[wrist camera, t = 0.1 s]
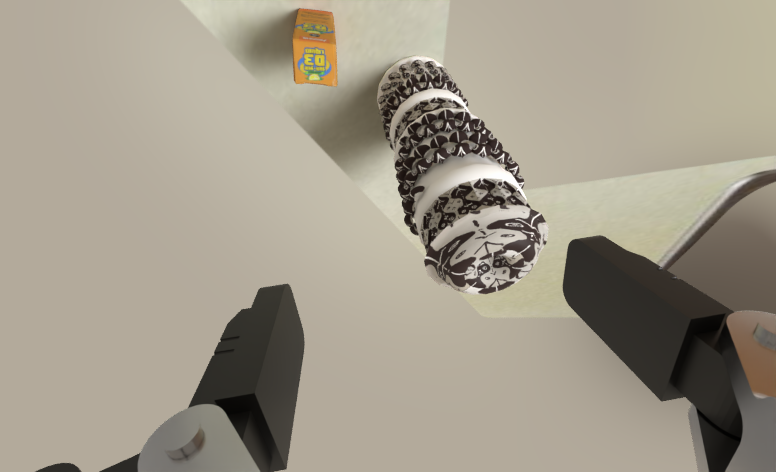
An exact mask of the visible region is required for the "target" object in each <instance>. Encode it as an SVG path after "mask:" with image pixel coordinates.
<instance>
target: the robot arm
mask: <svg viewBox="0 0 776 472" xmlns="http://www.w3.org/2000/svg"><path fill="white" fill-rule="evenodd" d="M563 293H564V296H565V299H566V301H567V303H568V304H569V306H570V307H571V308H572V309H573V310H574V311H575V312H576V313H577V314H578V315H579V316H580V317H581V318H582V319H583V320H584V321H585V323H586V324H587V325H588V326H589V327H590V328H591V329H592V330H593V331H594V332H595V333H596V334H597V335H598V336H599V337H600V338H601V339H602V340H603V341H604V342H605V343H606V344H607V345H608V346H609V347H610V348H611V350H612V351H613V352H614V353H615V354H616V355H617V356H618V357H619V358H620V359H621V360H622V361H623V362H624V363H625V364H626V365H627V366H628V367H629V368H630V369H631V370H632V371H633V372H634V373H635V374H636V375H637V377H638V378H639V379H640V380H641V381H642V382H643V383H644V384H645V385H646V386H647V387H648V388H649V389H650V390H651V391H652V392H653V393H654V394H655V395H656V396H657V397H658V398H659V399H660V400H661V401H666V400H672V399H677V398H683V397H686V398H687V399H688V400H689V401H690V402H691V406H690V408H689V411H688V417H689V423H690V429H691V434H692V439H693V445H694V450H695V456H696V461H697V467H698V472H776V315H774V314H770V313H766V312H759V311H738V312H733V311H732V310H730V309H729V308H727V307H725V306H724V305H722V304H720V303H719V302H717V301H716V300H714V299H712V298H711V297H709V296H707V295H706V294H704V293H703V292H701V291H699V290H698V289H696V288H694V287H693V286H691V285H689V284H688V283H686V282H685V281H683V280H681V279H677V277H676V276H675V275H673V274H672V273H670V272H668V271H667V270H662V267H660V266H659V265H657V264H655V263H654V262H652V261H650V260H649V259H647V258H646V257H643V256H640V255H638V254H635V253H632V252H629V251H627V250H625V249H623V248H622V247H620V246H619V245H617V244H615V243H614V242H612V241H611V240H609V239H607V238H606V237H604V236H593V237H586V238H580V239H574V240H572V241H571V242H570V243H569V246H568V251H567V258H566V265H565V273H564V280H563ZM220 340H221V342H219V343H218V345H217V347H216V350H215V352H214V356H212V358H211V360H210V362H209V364H208V367H207V369H206V371H205V373H204V375H203V377H202V379H201V381H200V384H199V386H198V388H197V390H196V392H195V394H194V396H193V398H192V401H191V403H190V405H189V407H188V408H187V409H185V410H183V411H181V412H179V413H177V414H176V415H174V416H173V417H171V418H170V419H168V420H167V421H166V422H164V423H163V424H162V425H161V426H160V427H159V428H158V429H157V430H156V431H155V432H154V433H153V434H152V435H151V437H150V438H149V439H148V441H147V442H146V444H145V445H144V447H143V449H142V451H141V453H139V454H137V455H135V456H133V457H131V458H129V459H127V460H124V461H122V462H120V463H118V464H116V465H113V466H111V467H109V468H106V469H104V470H102V471H100V472H274V471H279V470H284V469H286V468H287V460H288V454H289V448H290V440H291V434H292V427H293V421H294V414H295V407H296V401H297V394H298V387H299V381H300V374H301V367H302V360H303V354H304V333H303V328H302V324H301V321H300V317H299V314H298V310H297V307H296V303H295V300H294V297H293V293H292V290H291V287H290V286H289V284H283V285H276V286H270V287H264V288H260V289H259V290H258V292H257V295H256V297H255V300H254V302H253V305H252V307H251V308H248V309H242V310H241V311H240V312H239V313H238V314H237V315H236V316H235V317H234V318H233V319H232V320H231V321H230V322H229V323H228V324H227V326H226V328H225V330H224V333H223V335H222V337H221V339H220ZM36 472H81V470H79V468H78V467H77V466H75V465H74V464H70V463H60V464H55V465H51V466H48V467H45V468H43V469H40V470H38V471H36Z"/></svg>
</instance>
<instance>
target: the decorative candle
mask: <svg viewBox="0 0 776 472" xmlns="http://www.w3.org/2000/svg"><path fill="white" fill-rule="evenodd" d="M377 103H378V106H379V114H380V115H381V121H382V123H384V130H385V132H386V138H387V139H388V140H389V141H390V147H391V148H392V149H393V150H394V152H395V154H394V162H395V169H396V170H397V174H396V178H397V180H398V182H399V183H400V185H399V187H398V191H399V193H400V196H401V197H402V198H403V200H402V206H403V208H404V213H405V214H406V216H405V218H404V221H405V224H406V225H407V226H409V227H410V230H411V232H412V233H413V234H414V235H419V237H420V240H421V243H422V244H423V245H424V246H425V249H426V252H427V255H426V258H425V261H424V262H425V266H426V270H427V274H428V276H429V277H431V278H432V279H433V280H434V281H436V282H437V283H438V284H439V285H443V286H446V287H450V288H454V289H455V290H457V291H460V292H464V293H468V294H488V293H492V292H496V291H499V290H503V289H505V288H507V287H509V286H511V285H513V284H515V283H517V282H518V281H519V280H521V279H522V278H523V277H524V276H526V275H527V274H528V273H529V272H530V270H531V269H532V268H533V266H534V265H535V263H536V262H537V260H538V255H539V253H540V252H541V250H542V249H543V247H544V246H545V244H546V241H547V235H548V229H549V227H548V225H547V223H546V222H545V220H544V218H543V216H542V214H541V213H538V212H536V211H534V210H532V209H531V208H530V206H529V204H528V203H527V201H526V200H527V198H526V196H525V194H524V193H523V191H522V188H523V186H524V179H523V177H521V176H520V175H518V173H519V166H518V164H517V163H516V162H515V161H512V158H511V156H510V154H509V153H507V152H505V151H503V150H502V148H503V147H502V144H501V143H500V142H499V141H497V139H496V138H494V137H493V135H492V133H491V131H489V130H487V129H486V128H485V127H484V126H485V125H484V122H483V121H482V120H480V119H479V118H478V117H476V116H474V115H473V114H471V113H470V112H469V110H468V109H467V106H468V102H467V100H466V99H465V98H464V97H463V95H462V93H461V91H460V90H459V89H458V86H457V85H456V83H454V81H453V79H452V77H451V76H450V75H449V74H448V73H447V70H446V69H445V68H444V67H443V66H442V65H441V64H440V63H438V62H437V61H435V60H433V59H432V58H430V57H424V56H416V55H414V56H411V57H408V58H405V59H402V60H399V61H398V62H396V63H395V64H394V65H393V66H392V67H390V68H389V69H388V70H387V71H386V73H385V74H384V76H383V78H382V80H381V82H380V83H379V86H378V94H377ZM501 163H502V164H505V165H506V167H505V170H504V169H502V167H501V166H500V164H501ZM412 218H414V219H415V223H413V219H412Z"/></svg>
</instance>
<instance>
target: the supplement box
mask: <svg viewBox="0 0 776 472" xmlns="http://www.w3.org/2000/svg"><path fill="white" fill-rule="evenodd" d="M292 42H293V69H294V81H295V83H296V84H304V83H311V84H321V85H327V86H333V87H336V86H337V55H336V39H335V28H334V18H333V14H332V12H326V11H318V10H309V9H299V10H298V14H297V18H296V23H295V28H294V33H293V39H292Z"/></svg>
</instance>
